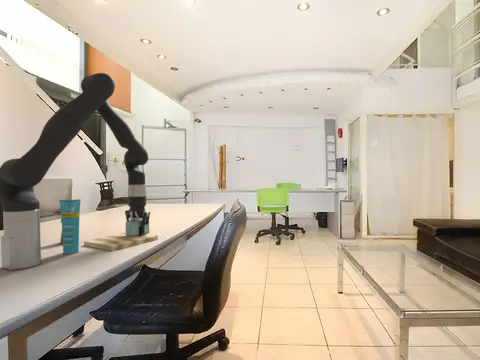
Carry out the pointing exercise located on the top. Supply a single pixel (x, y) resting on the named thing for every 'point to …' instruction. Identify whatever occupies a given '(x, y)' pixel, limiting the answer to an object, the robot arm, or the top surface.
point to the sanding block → (135, 228)
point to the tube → (70, 225)
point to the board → (119, 241)
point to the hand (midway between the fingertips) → (137, 234)
